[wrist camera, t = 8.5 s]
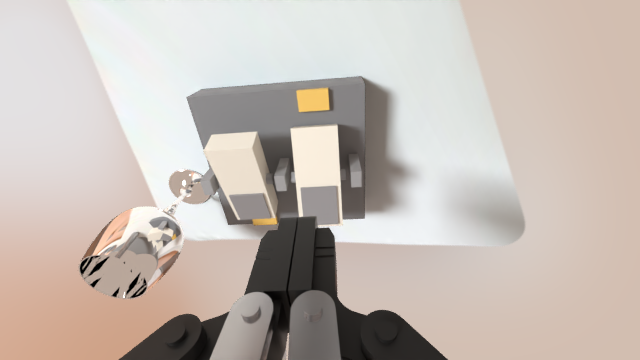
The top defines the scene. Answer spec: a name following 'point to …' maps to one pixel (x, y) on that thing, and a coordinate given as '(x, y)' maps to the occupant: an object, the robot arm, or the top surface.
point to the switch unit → (288, 133)
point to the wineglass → (140, 243)
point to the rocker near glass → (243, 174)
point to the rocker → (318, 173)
